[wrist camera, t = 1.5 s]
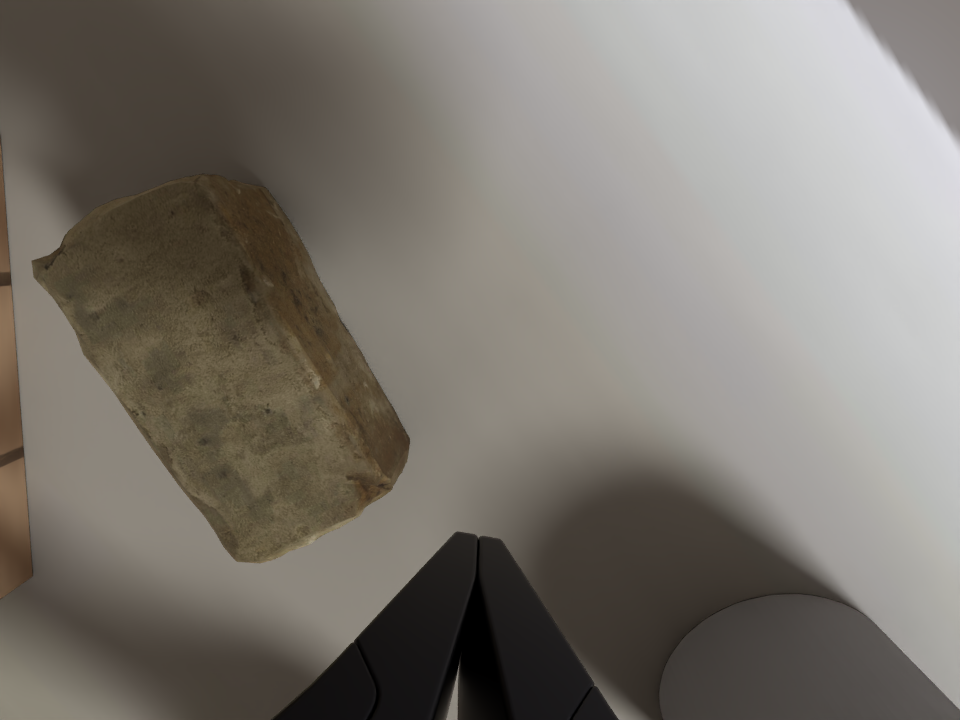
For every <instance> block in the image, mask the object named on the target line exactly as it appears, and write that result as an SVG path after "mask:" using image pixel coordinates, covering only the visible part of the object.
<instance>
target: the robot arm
mask: <svg viewBox="0 0 960 720" xmlns="http://www.w3.org/2000/svg"><path fill="white" fill-rule="evenodd" d="M459 662H460V663H459ZM458 666H459V675H458V720H619V719H618V718H617V717H616V715H615V714H614V712H613V711H612V709H611V708H610V706H609V705H608V703H607V702H606V700H605V698H604V697H603V695H602V694H601V692H600V691H599V689H598V688H597V687H596V686H594V682H593V680H592V679H591V677H590V676H589V674H588V673H587V671H586V669H585V668H584V666H583V665H582V663H581V662H580V660H579V659H578V657H577V656H576V654H575V652H574V651H573V649H572V648H571V646H570V645H569V643H568V642H567V640H566V639H565V637H564V635H563V634H562V632H561V631H560V629H559V628H558V626H557V625H556V623H555V622H554V620H553V618H552V617H551V615H550V614H549V612H548V611H547V609H546V608H545V606H544V605H543V603H542V601H541V600H540V598H539V597H538V595H537V594H536V592H535V591H534V589H533V588H532V586H531V584H530V583H529V581H528V580H527V578H526V577H525V575H524V574H523V572H522V571H521V569H520V567H519V566H518V564H517V563H516V561H515V560H514V558H513V557H512V555H511V554H510V552H509V550H508V549H507V547H506V546H505V544H504V543H503V541H502V540H500V539H498V538H492V537H486V536H480V537H479V539H478V537H477V536H476V535H475V534H470V533H464V532H455V533H454V534H453V535H452V536H451V537H450V538H449V539H448V541H447V542H446V543H445V544H444V545H443V546H442V547H441V548H440V549H439V550H438V551H437V552H436V553H435V554H434V556H433V557H432V558H431V559H430V560H429V561H428V562H427V563H426V564H425V565H424V566H423V567H422V568H421V569H420V570H419V572H418V573H417V574H416V575H415V576H414V577H413V578H412V579H411V580H410V581H409V582H408V583H407V584H406V585H405V587H404V588H403V589H402V590H401V591H400V592H399V593H398V594H397V595H396V596H395V597H394V598H393V599H392V600H391V601H390V603H389V604H388V605H387V606H386V607H385V608H384V609H383V610H382V611H381V612H380V613H379V614H378V615H377V616H376V617H375V619H374V620H373V621H372V622H371V623H370V624H369V625H368V626H367V627H366V628H365V629H364V630H363V631H362V632H361V634H360V635H359V636H358V637H357V638H356V639H355V640H354V643H351V644H350V645H349V646H348V647H347V648H346V649H345V650H344V651H343V652H342V653H341V655H340V656H339V657H338V658H337V659H336V660H335V661H334V662H333V663H332V664H331V665H330V666H329V667H328V668H327V669H326V670H325V671H324V672H323V673H322V674H321V675H320V676H319V677H318V678H317V679H316V680H315V681H314V682H313V683H312V684H311V685H310V686H309V687H308V688H307V689H305V690H304V691H303V692H302V693H301V694H300V695H299V696H298V697H296V698H295V699H294V700H293V701H292V702H291V703H290V704H288V705H287V706H286V707H285V708H284V709H283V710H282V711H281V712H279V713H278V714H277V715H276V716H275V717H274V718H272V719H271V720H446V718H447V714H448V710H449V706H450V702H451V698H452V694H453V690H454V685H455V681H456V676H457V671H458Z"/></svg>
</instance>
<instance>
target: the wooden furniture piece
mask: <svg viewBox="0 0 960 720" xmlns="http://www.w3.org/2000/svg"><path fill="white" fill-rule="evenodd" d="M32 576H33V573H32V559H31V545H30V532H29V518H28V505H27V491H26V478H25V464H24V451H23V437H22V424H21V410H20V397H19V383H18V370H17V356H16V343H15V329H14V315H13V302H12V288H11V275H10V261H9V248H8V234H7V221H6V207H5V194H4V180H3V167H2V153H1V140H0V599H1V598H3V597H4V596H5V595H7V594H8V593H10V592H11V591H12V590H14V589H15V588H17V587H18V586H20V585H21V584H22V583H24V582H25V581H27V580H28V579H29V578H31V577H32Z"/></svg>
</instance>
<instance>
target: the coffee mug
mask: <svg viewBox="0 0 960 720" xmlns="http://www.w3.org/2000/svg"><path fill="white" fill-rule="evenodd" d="M659 702H660V709H661V714H662V717H663V720H960V710H959V709H958V708H957V707H956V706H955V705H954V704H953V703H952V702H951V701H950V700H949V699H948V698H947V697H946V696H945V695H944V694H943V693H942V691H941V690H940V689H939V688H938V687H937V686H936V685H935V684H934V683H933V682H932V681H931V680H930V679H929V678H928V677H927V676H926V675H925V674H924V673H923V672H922V671H921V670H920V669H919V668H918V667H917V666H916V665H915V664H914V663H913V662H912V661H911V660H910V659H909V658H908V657H907V656H906V655H905V654H904V653H903V652H902V651H901V650H900V649H899V648H898V647H897V646H896V644H895V643H894V642H893V641H892V640H891V639H890V638H889V637H888V636H887V635H886V634H885V633H884V632H883V631H882V630H881V629H880V628H879V627H878V626H877V625H876V624H875V623H874V622H872V621H871V620H870V619H869V618H867V617H866V616H865V615H863V614H862V613H860V612H859V611H857V610H855V609H853V608H851V607H849V606H847V605H845V604H843V603H840V602H836V601H833V600H830V599H827V598H823V597H818V596H813V595H803V594H783V595H769V596H764V597H759V598H755V599H750V600H746V601H742V602H739V603H737V604H734V605H731V606H729V607H727V608H725V609H723V610H721V611H719V612H717V613H715V614H713V615H712V616H710V617H708V618H707V619H705V620H704V621H702V622H701V623H700V624H699V625H697V626H696V627H695V628H694V629H693V630H692V631H690V632H689V633H688V634H687V635H686V636H685V637H684V638H683V640H682V641H681V642H680V643H679V644H678V646H677V647H676V648H675V650H674V651H673V653H672V654H671V656H670V658H669V659H668V661H667V664H666V666H665V668H664V672H663V675H662V679H661V683H660V690H659Z"/></svg>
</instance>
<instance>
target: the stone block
mask: <svg viewBox="0 0 960 720" xmlns="http://www.w3.org/2000/svg"><path fill="white" fill-rule="evenodd" d="M32 267H33V275H34V278H35V279H36V280H37V281H38V283H39V284H40V285H41V286H42V287H43V288H44V289H45V290H46V291H47V292H48V293H49V294H50V295H51V296H52V297H53V299H54V300H55V301H56V303H57V304H58V306H59V307H60V309H61V310H62V311H63V313H64V315H65V316H66V318H67V319H68V321H69V323H70V324H71V326H72V327H73V329H74V330H75V332H76V335H77V338H78V340H79V343H80V346H81V349H82V351H83V354H84V355H85V357H86V358H87V359H88V360H89V362H90V363H91V364H92V365H93V367H94V368H95V369H96V370H97V372H98V373H99V374H100V375H101V377H102V378H103V379H104V381H105V382H106V383H107V384H108V386H109V387H110V388H111V389H112V391H113V392H114V393H115V395H116V396H117V398H118V399H119V401H120V402H121V404H122V406H123V407H124V409H125V410H126V412H127V413H128V415H129V416H130V417H131V419H132V420H133V422H134V423H135V425H136V426H137V428H138V429H139V430H140V432H141V433H142V435H143V436H144V438H145V439H146V441H147V442H148V443H149V445H150V446H151V448H152V449H153V451H154V452H155V453H156V455H157V456H158V457H159V459H160V460H161V462H162V463H163V464H164V466H165V467H166V468H167V470H168V471H169V473H170V474H171V475H172V477H173V478H174V479H175V481H176V482H177V484H178V485H179V486H180V487H181V489H182V490H183V491H184V492H185V494H186V495H187V496H188V497H189V499H190V500H191V501H192V502H193V503H194V505H195V506H196V507H197V508H198V509H199V510H200V512H201V513H202V514H203V515H204V516H205V518H206V519H207V521H208V522H209V524H210V525H211V527H212V528H213V529H214V531H215V532H216V534H217V536H218V538H219V540H220V541H221V543H222V545H223V547H224V548H225V549H226V550H227V551H228V553H229V554H230V555H231V556H232V557H233V558H234V559H235V560H236V561H237V562H249V563H263V562H267V561H271V560H273V559H276V558H278V557H281V556H283V555H284V554H286V553H287V552H289V551H291V550H295V549H298V548H301V547H304V546H307V545H310V544H311V543H312V542H314V541H315V540H316V539H318V538H319V537H321V536H322V535H324V534H326V533H328V532H330V531H333V530H335V529H338V528H340V527H342V526H343V525H345V524H347V523H348V522H350V521H352V520H353V519H355V518H357V517H358V516H360V515H361V513H362V511H363V510H364V508H365V507H367V506H368V505H369V504H371V503H373V502H374V501H376V500H378V499H380V498H382V497H383V496H384V495H386V494H387V493H388V492H390V491H391V490H392V488H393V485H394V484H395V482H396V481H397V478H398V477H399V475H400V474H401V473H402V471H403V468H404V466H405V463H406V462H407V459H408V452H409V445H410V438H409V436H408V435H407V433H406V432H405V430H404V429H403V427H402V424H401V422H400V420H399V418H398V416H397V414H396V412H395V410H394V409H393V407H392V406H391V404H390V402H389V401H388V399H387V397H386V396H385V394H384V392H383V390H382V388H381V387H380V385H379V383H378V382H377V380H376V378H375V377H374V375H373V374H372V372H371V370H370V369H369V367H368V365H367V363H366V360H365V358H364V356H363V354H362V353H361V351H360V350H359V349H358V347H357V345H356V343H355V342H354V340H353V338H352V337H351V335H350V334H349V333H348V331H347V330H346V329H345V327H344V326H343V325H342V323H341V322H340V319H339V316H338V313H337V310H336V307H335V305H334V304H333V302H332V301H331V299H330V297H329V296H328V294H327V292H326V291H325V289H324V287H323V285H322V283H321V281H320V279H319V277H318V275H317V273H316V271H315V268H314V266H313V264H312V261H311V259H310V256H309V254H308V252H307V250H306V248H305V247H304V245H303V243H302V241H301V239H300V237H299V236H298V234H297V232H296V231H295V229H294V227H293V226H292V224H291V222H290V221H289V219H288V218H287V216H286V215H285V214H284V212H283V211H282V209H281V208H280V207H279V205H278V204H277V202H276V201H275V200H274V198H273V197H272V195H271V194H270V193H269V191H268V190H267V189H266V188H265V187H260V186H255V185H250V184H246V183H242V182H238V181H236V180H230V181H228V180H227V179H226V178H224V177H222V176H218V175H208V174H200V175H195V176H189V177H184V178H180V179H176V180H172V181H169V182H167V183H165V184H162V185H160V186H157V187H155V188H152V189H150V190H147V191H145V192H142V193H139V194H137V195H133V196H127V197H123V198H119V199H115V200H113V201H110V202H108V203H106V204H104V205H101V206H99V207H97V208H95V209H94V210H93V211H92V212H90V213H89V214H88V215H87V216H86V217H84V218H83V219H82V220H81V221H80V222H79V223H77V224H76V225H75V226H74V227H73V228H72V229H70V230H69V231H68V233H67V234H66V235H65V236H64V239H63V241H62V243H61V246H60V247H59V248H58V249H57V250H56V251H54V252H53V253H52V254H50V255H48V256H45V257H42V258H39V259H36V260H33V261H32Z"/></svg>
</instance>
